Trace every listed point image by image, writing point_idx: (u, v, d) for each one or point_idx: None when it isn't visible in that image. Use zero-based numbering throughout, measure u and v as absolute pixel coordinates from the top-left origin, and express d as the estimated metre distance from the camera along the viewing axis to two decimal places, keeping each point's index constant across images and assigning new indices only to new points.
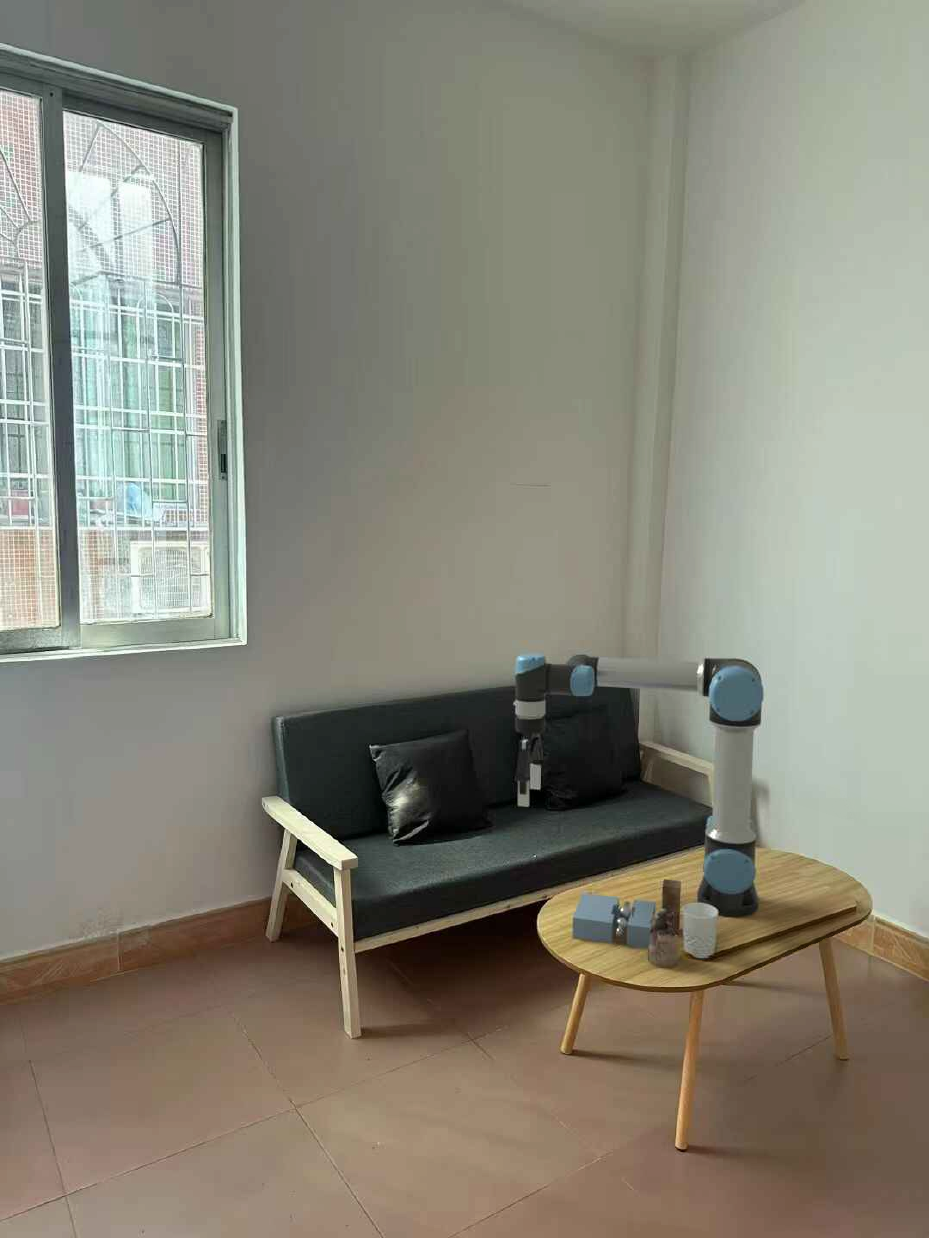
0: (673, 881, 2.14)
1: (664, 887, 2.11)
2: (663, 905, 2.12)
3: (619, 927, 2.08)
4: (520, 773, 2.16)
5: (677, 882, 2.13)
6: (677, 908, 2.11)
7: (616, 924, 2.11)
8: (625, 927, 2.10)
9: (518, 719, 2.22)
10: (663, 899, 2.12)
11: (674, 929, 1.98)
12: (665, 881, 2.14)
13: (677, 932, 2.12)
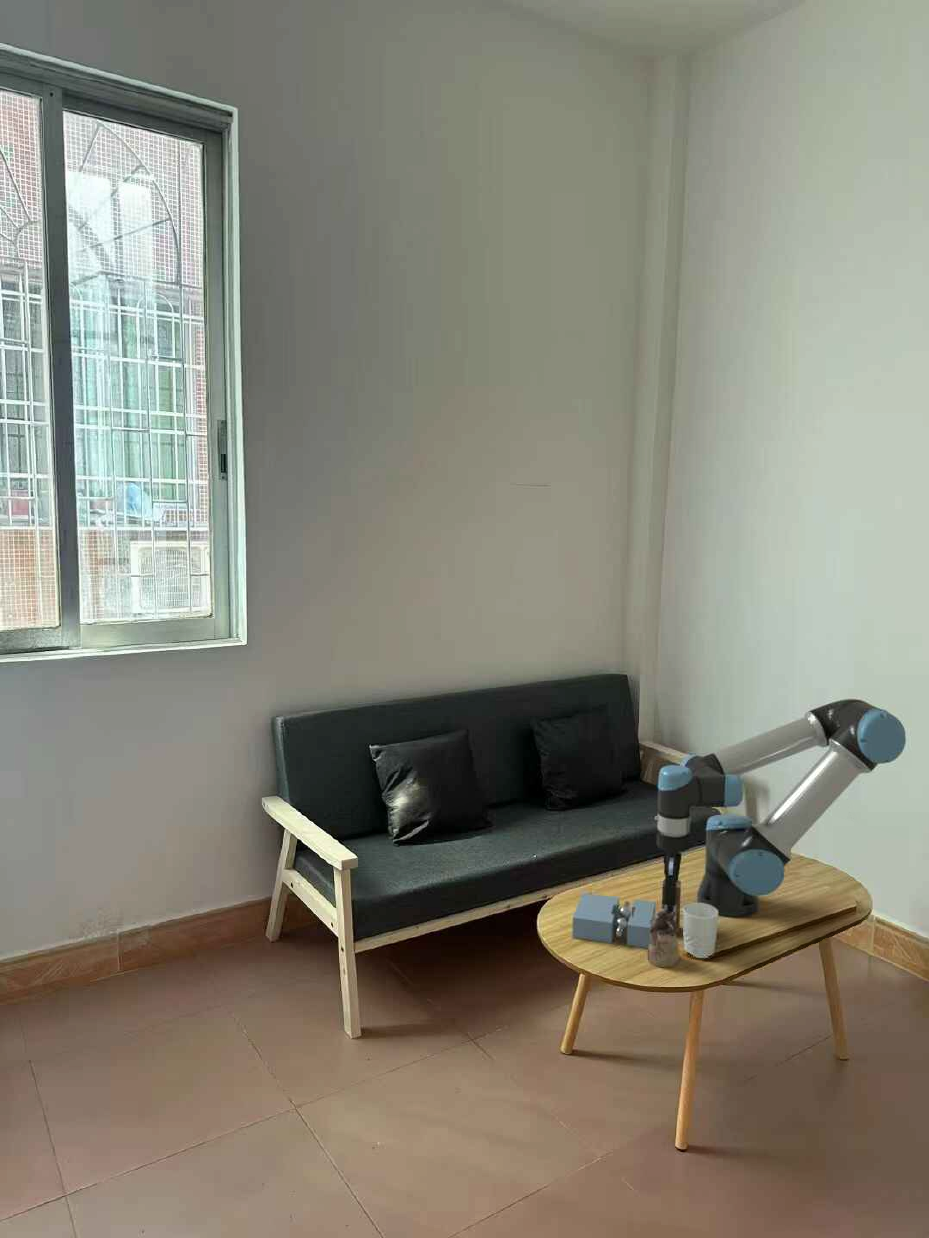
0: None
1: (664, 887, 2.11)
2: (663, 905, 2.12)
3: (619, 927, 2.08)
4: (669, 899, 2.08)
5: (677, 882, 2.13)
6: (677, 908, 2.11)
7: (616, 924, 2.11)
8: (625, 927, 2.10)
9: (662, 836, 2.09)
10: (663, 899, 2.12)
11: (674, 929, 1.98)
12: None
13: (677, 932, 2.12)
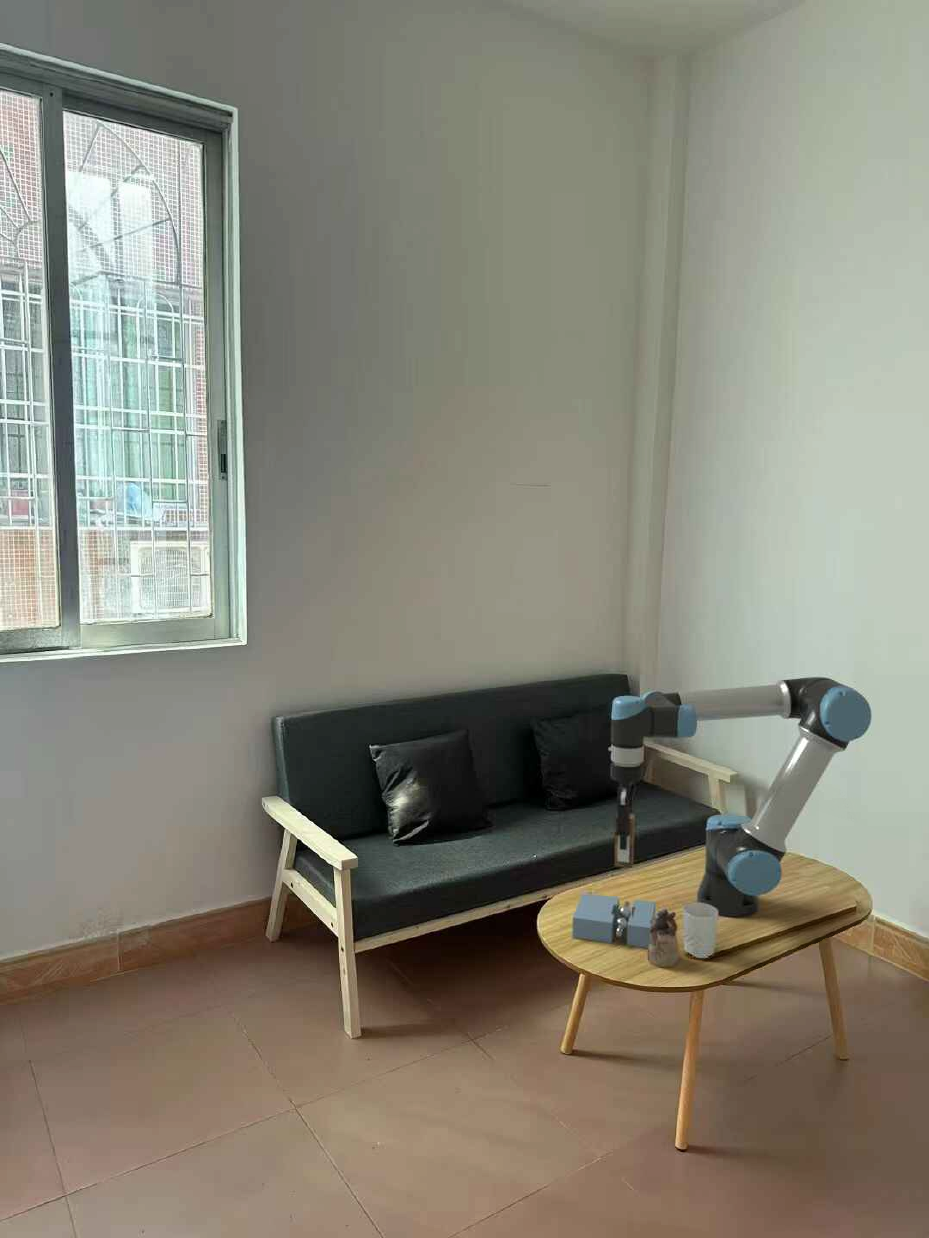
0: None
1: None
2: (616, 837, 2.10)
3: (619, 927, 2.08)
4: (621, 829, 2.06)
5: (631, 814, 2.11)
6: (630, 840, 2.09)
7: (616, 924, 2.11)
8: (625, 927, 2.10)
9: (615, 766, 2.07)
10: (616, 831, 2.10)
11: (674, 929, 1.98)
12: None
13: (630, 864, 2.10)
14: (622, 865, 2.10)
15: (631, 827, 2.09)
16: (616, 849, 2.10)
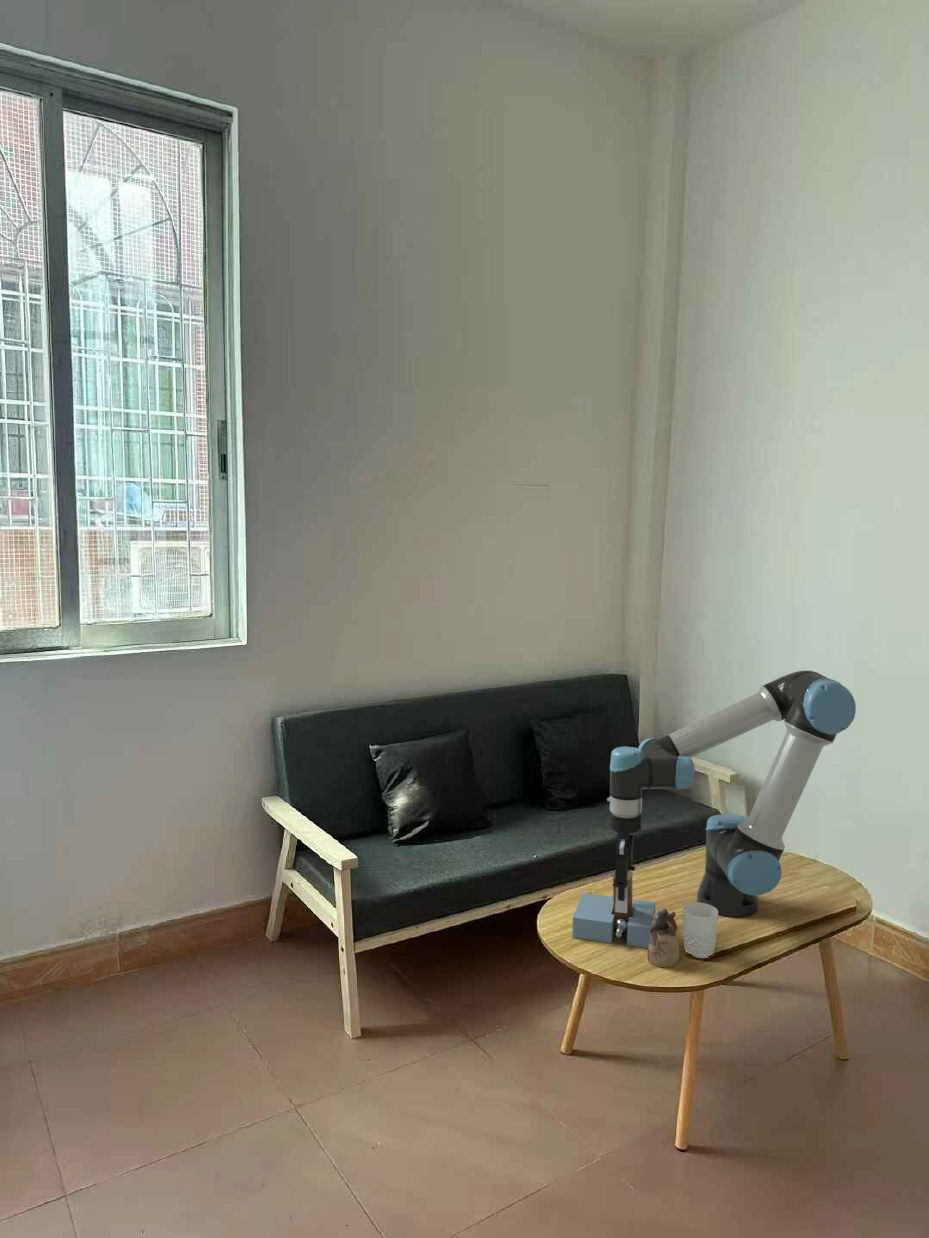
0: None
1: None
2: (614, 896, 2.11)
3: (619, 928, 2.08)
4: (619, 880, 2.06)
5: (628, 873, 2.11)
6: (628, 899, 2.10)
7: (616, 925, 2.10)
8: (625, 928, 2.10)
9: (613, 817, 2.09)
10: (614, 891, 2.10)
11: (674, 929, 1.98)
12: None
13: None
14: None
15: (629, 888, 2.09)
16: None
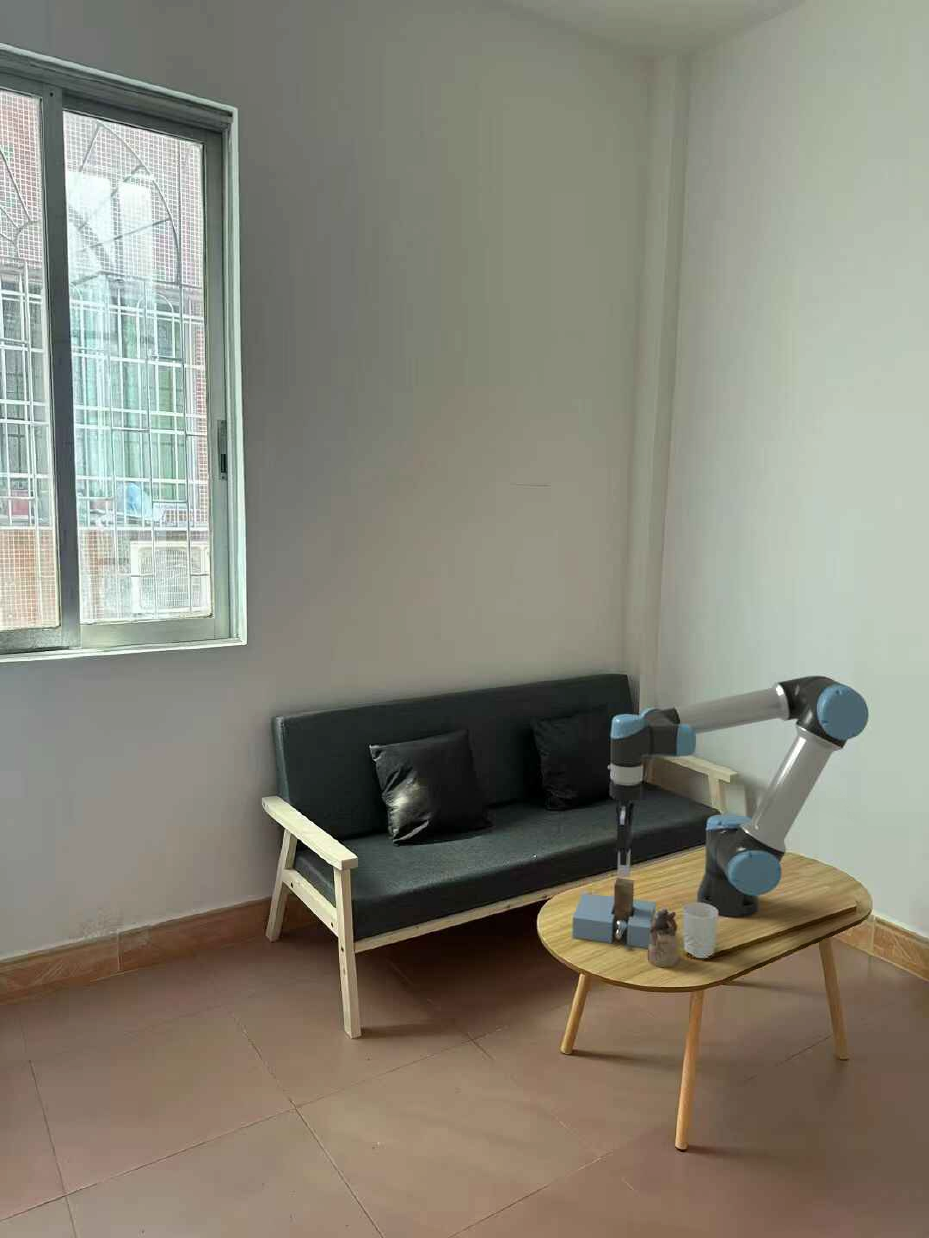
0: (626, 880, 2.15)
1: (616, 886, 2.12)
2: (615, 904, 2.13)
3: (618, 929, 2.07)
4: (621, 846, 2.08)
5: (630, 881, 2.14)
6: (629, 907, 2.12)
7: (615, 926, 2.10)
8: (625, 929, 2.09)
9: (614, 785, 2.08)
10: (615, 898, 2.13)
11: (674, 929, 1.98)
12: (618, 880, 2.15)
13: None
14: None
15: (630, 894, 2.11)
16: (615, 916, 2.13)
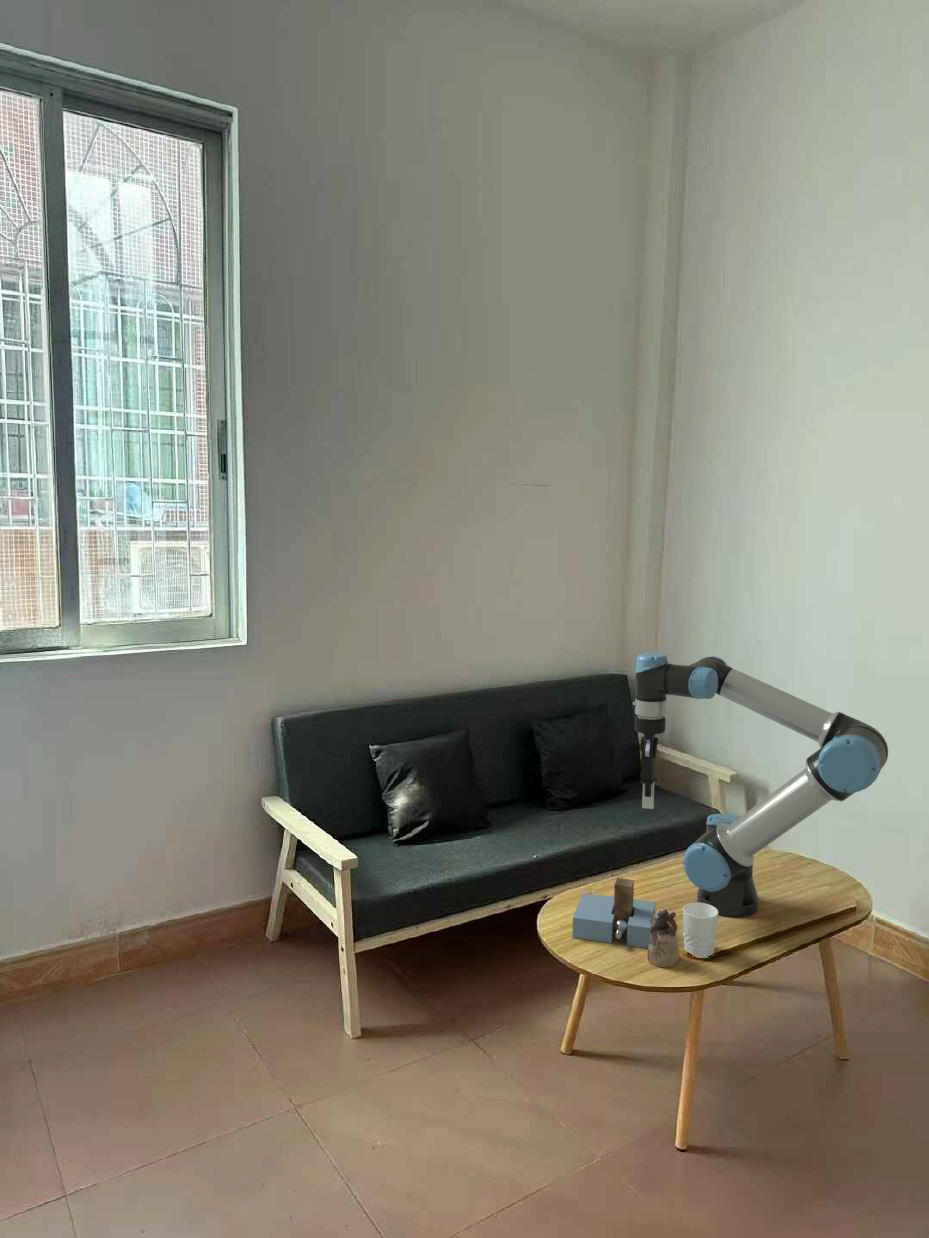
0: (626, 880, 2.15)
1: (616, 886, 2.12)
2: (615, 904, 2.13)
3: (618, 929, 2.07)
4: (646, 778, 2.18)
5: (630, 881, 2.14)
6: (629, 907, 2.12)
7: (615, 926, 2.10)
8: (625, 929, 2.09)
9: (639, 719, 2.18)
10: (615, 898, 2.13)
11: (674, 929, 1.98)
12: (618, 880, 2.15)
13: None
14: None
15: (630, 894, 2.11)
16: (615, 916, 2.13)
